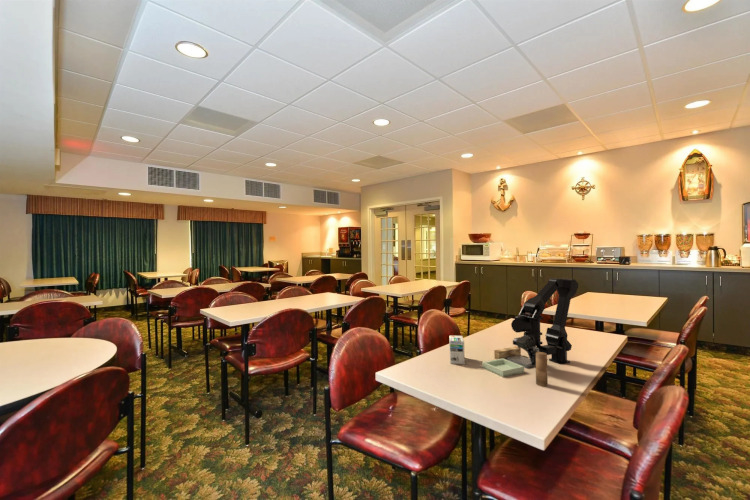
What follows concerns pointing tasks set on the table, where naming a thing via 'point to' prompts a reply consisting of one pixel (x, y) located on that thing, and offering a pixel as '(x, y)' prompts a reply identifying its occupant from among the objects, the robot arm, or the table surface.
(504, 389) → the table surface
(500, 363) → the tray
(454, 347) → the light bulb box
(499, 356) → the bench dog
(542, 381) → the walnut dowel
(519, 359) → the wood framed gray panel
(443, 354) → the table surface
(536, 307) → the robot arm
